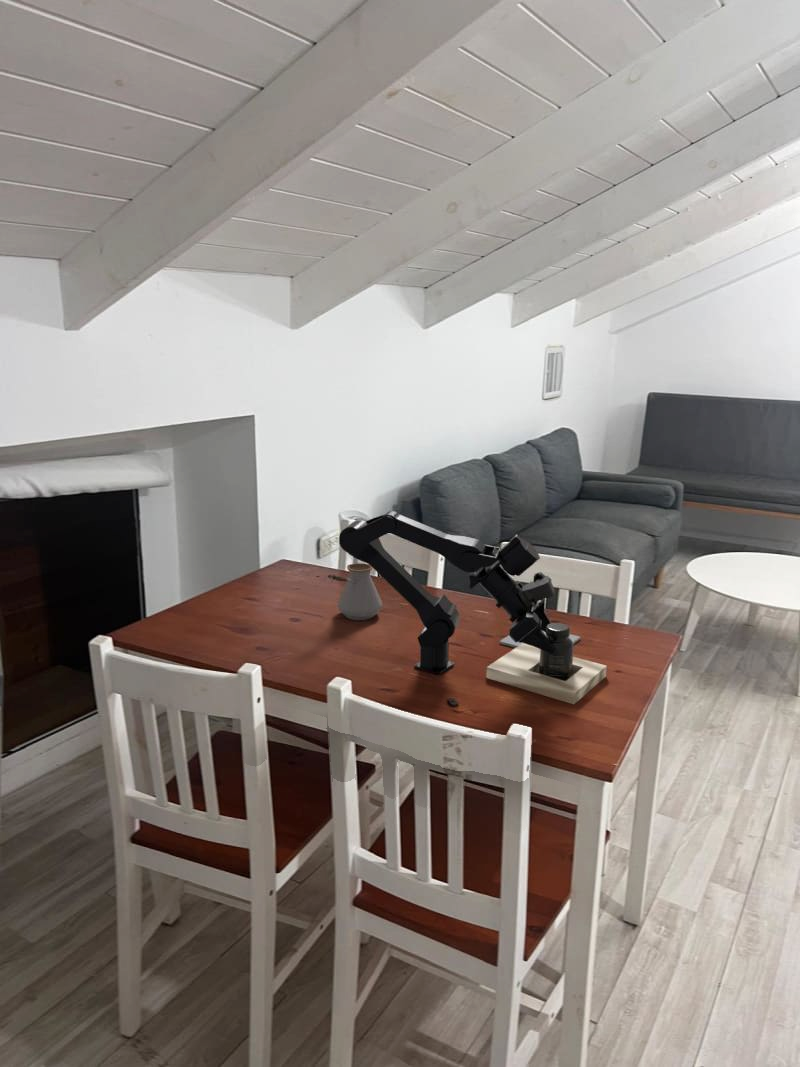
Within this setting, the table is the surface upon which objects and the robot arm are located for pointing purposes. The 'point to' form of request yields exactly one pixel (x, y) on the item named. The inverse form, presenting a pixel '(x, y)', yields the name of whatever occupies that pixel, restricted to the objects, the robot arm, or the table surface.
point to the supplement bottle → (557, 653)
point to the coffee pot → (358, 593)
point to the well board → (524, 670)
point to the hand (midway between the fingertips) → (554, 643)
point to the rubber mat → (512, 643)
